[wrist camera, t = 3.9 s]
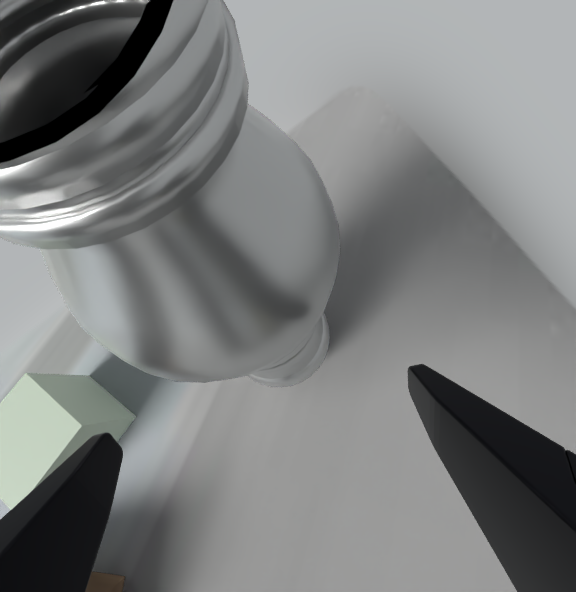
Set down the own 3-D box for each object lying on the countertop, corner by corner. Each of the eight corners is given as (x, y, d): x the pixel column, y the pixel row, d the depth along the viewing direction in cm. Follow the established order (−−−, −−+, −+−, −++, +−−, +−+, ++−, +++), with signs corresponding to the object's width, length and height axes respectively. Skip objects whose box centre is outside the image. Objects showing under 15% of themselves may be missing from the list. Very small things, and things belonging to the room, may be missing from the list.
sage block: (136, 416, 20) (81, 425, 16) (88, 482, 19) (13, 514, 15) (89, 375, 22) (25, 373, 17) (42, 436, 21) (-41, 451, 16)
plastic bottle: (275, 407, 20) (-1337, 1228, 1) (220, 331, 22) (-538, -83, 2) (348, 346, 20) (795, -268, 1) (287, 277, 22) (97, -367, 3)
